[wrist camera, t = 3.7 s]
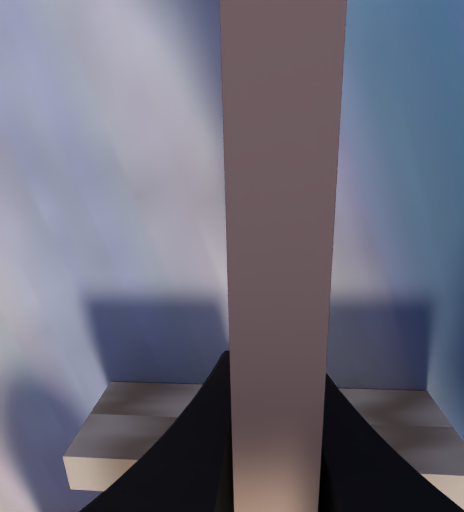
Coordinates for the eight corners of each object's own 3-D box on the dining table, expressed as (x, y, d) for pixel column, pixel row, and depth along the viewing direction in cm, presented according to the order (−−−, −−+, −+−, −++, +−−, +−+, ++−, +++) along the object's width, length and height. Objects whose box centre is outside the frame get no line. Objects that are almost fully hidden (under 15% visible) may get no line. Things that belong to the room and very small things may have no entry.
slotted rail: (426, 390, 18) (488, 477, 13) (421, 419, 18) (478, 512, 14) (110, 381, 19) (62, 456, 15) (115, 409, 20) (70, 489, 15)
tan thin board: (287, 39, 9) (363, -311, 3) (281, 398, 12) (308, 675, 6) (245, 42, 9) (210, -292, 3) (249, 397, 12) (238, 668, 6)
